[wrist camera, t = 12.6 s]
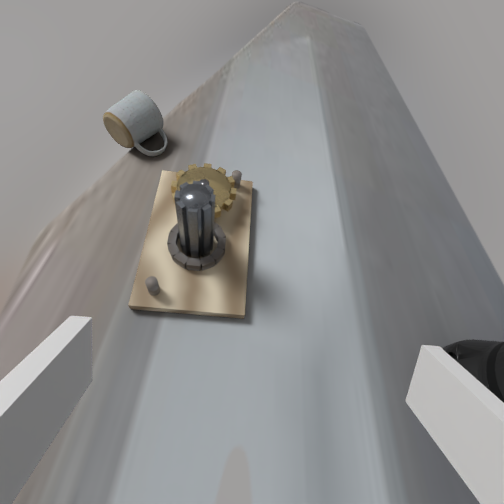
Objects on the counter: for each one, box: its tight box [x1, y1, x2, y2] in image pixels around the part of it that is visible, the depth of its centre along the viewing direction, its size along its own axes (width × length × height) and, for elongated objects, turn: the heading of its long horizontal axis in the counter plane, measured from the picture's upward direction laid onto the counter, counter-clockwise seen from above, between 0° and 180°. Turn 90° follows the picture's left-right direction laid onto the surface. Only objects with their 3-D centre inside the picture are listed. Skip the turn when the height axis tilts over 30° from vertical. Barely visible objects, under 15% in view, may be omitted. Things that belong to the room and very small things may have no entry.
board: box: [129, 170, 253, 319], centre depth 50 cm, size 16×25×4 cm, turn 177°
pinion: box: [174, 181, 216, 259], centre depth 44 cm, size 5×5×12 cm
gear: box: [171, 163, 237, 218], centre depth 52 cm, size 10×10×5 cm
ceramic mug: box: [103, 90, 167, 156], centre depth 58 cm, size 11×8×8 cm
